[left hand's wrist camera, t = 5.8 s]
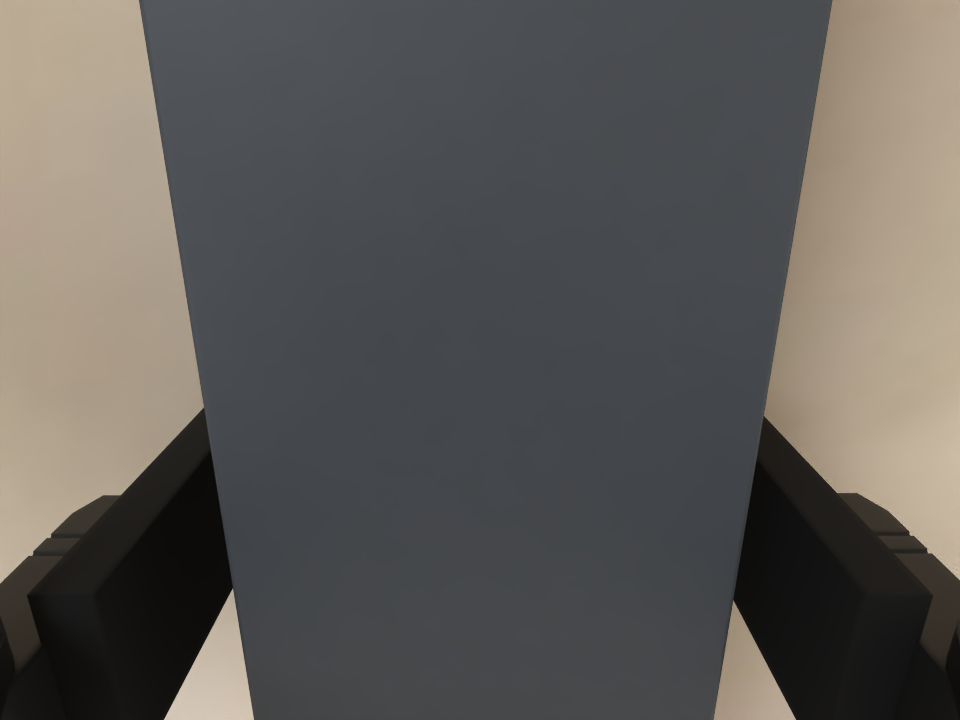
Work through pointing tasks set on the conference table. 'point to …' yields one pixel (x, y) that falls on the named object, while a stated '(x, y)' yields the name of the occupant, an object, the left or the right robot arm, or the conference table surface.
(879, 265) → the conference table surface
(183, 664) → the left robot arm
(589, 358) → the beam
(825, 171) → the conference table surface
